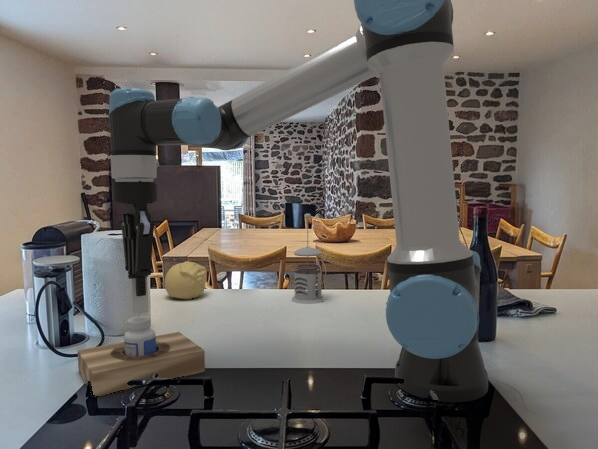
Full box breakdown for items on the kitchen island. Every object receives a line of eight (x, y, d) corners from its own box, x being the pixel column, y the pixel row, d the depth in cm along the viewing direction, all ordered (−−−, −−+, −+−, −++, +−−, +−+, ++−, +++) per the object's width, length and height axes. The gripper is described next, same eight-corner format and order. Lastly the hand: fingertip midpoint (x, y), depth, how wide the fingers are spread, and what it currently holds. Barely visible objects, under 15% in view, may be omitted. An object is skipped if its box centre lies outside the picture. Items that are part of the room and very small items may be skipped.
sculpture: (198, 302, 139) (197, 265, 138) (158, 301, 141) (157, 264, 140) (212, 293, 150) (211, 258, 149) (175, 292, 153) (174, 257, 152)
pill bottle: (155, 364, 93) (153, 313, 92) (158, 374, 88) (156, 321, 87) (124, 368, 91) (122, 316, 90) (126, 379, 86) (124, 324, 85)
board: (204, 371, 89) (204, 350, 89) (93, 397, 79) (92, 373, 78) (179, 351, 100) (179, 331, 100) (78, 371, 89) (77, 350, 89)
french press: (309, 294, 149) (309, 211, 147) (336, 301, 140) (336, 213, 138) (284, 299, 143) (283, 213, 141) (310, 307, 134) (310, 215, 132)
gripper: (168, 180, 83) (172, 317, 85) (145, 180, 94) (149, 302, 96) (122, 180, 79) (127, 324, 81) (104, 180, 89) (109, 307, 92)
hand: (139, 312), depth 88 cm, fingers closed
